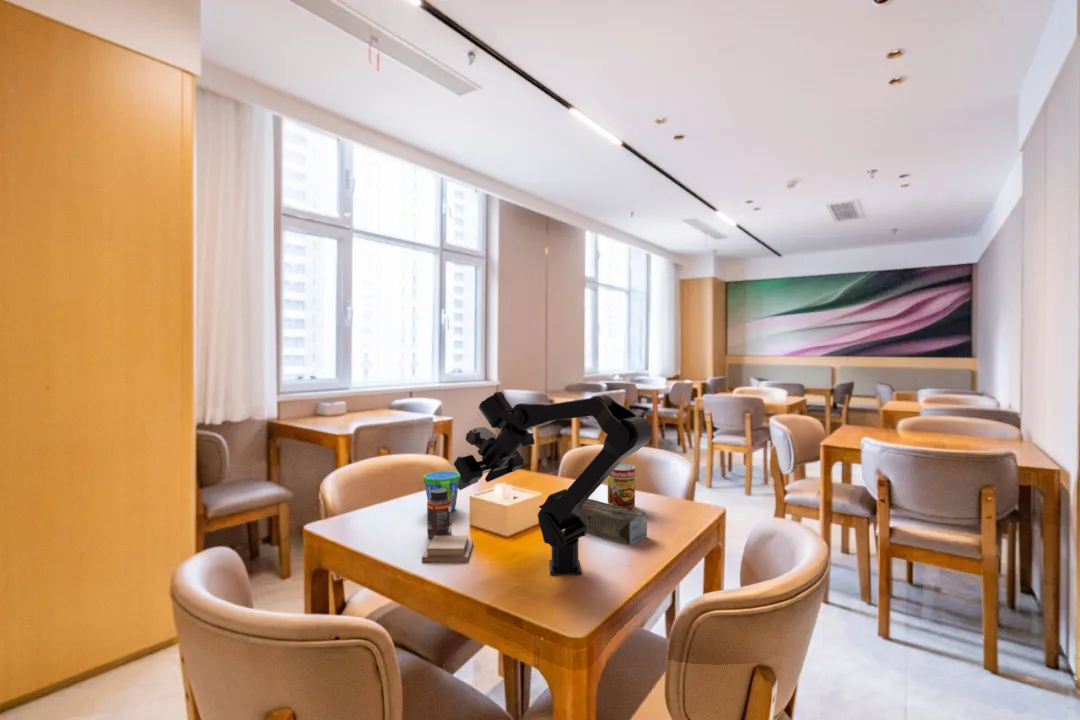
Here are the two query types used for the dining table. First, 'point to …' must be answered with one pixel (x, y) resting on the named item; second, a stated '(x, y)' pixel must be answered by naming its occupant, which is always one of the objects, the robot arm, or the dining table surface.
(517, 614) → the dining table surface
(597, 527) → the beverage carton
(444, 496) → the supplement bottle
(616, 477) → the canned food
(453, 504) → the snack cup
